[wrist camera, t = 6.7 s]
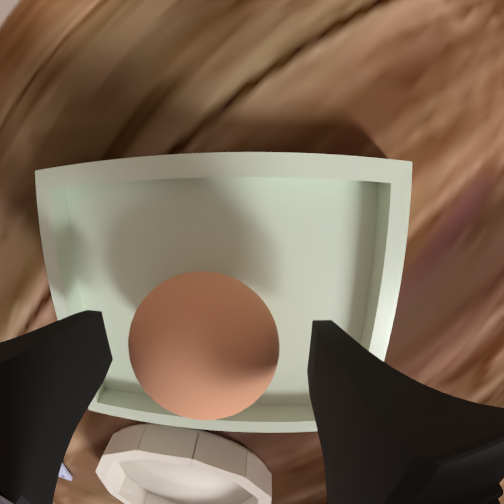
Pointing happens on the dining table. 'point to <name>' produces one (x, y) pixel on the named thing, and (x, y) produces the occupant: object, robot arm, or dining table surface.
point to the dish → (181, 468)
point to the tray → (230, 256)
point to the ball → (203, 345)
